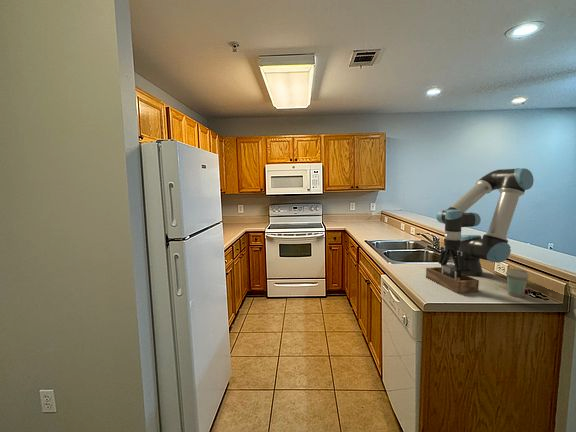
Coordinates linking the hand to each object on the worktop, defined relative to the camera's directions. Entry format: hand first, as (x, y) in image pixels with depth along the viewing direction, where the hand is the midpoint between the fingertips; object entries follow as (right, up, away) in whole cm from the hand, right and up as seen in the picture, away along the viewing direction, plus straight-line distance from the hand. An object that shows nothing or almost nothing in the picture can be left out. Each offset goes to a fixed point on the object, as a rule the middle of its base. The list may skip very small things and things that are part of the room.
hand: (450, 280), depth 151 cm
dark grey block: (0, -2, 0) cm, 2 cm away
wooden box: (0, -2, 0) cm, 2 cm away
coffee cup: (+23, -4, -15) cm, 28 cm away
